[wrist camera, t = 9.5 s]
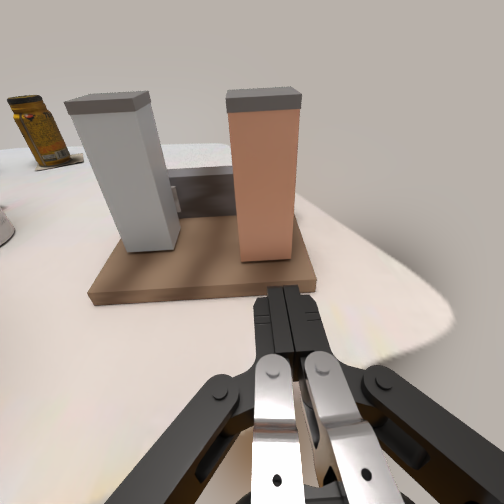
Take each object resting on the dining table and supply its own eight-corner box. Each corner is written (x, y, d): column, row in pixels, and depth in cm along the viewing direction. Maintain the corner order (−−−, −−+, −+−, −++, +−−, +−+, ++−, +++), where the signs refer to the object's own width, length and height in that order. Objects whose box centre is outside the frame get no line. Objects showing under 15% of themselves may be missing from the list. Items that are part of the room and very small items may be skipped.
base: (94, 305, 23) (57, 243, 19) (141, 221, 34) (124, 171, 30) (314, 291, 23) (324, 227, 19) (289, 212, 34) (292, 162, 30)
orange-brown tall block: (240, 262, 24) (225, 98, 16) (240, 236, 27) (227, 90, 19) (291, 259, 24) (301, 94, 16) (285, 233, 27) (290, 86, 19)
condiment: (38, 161, 56) (4, 96, 49) (83, 154, 59) (56, 91, 52) (35, 171, 51) (-4, 101, 44) (84, 163, 54) (55, 95, 47)
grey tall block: (126, 252, 26) (63, 101, 18) (138, 229, 29) (90, 94, 21) (174, 249, 26) (132, 98, 18) (181, 227, 29) (148, 90, 21)
